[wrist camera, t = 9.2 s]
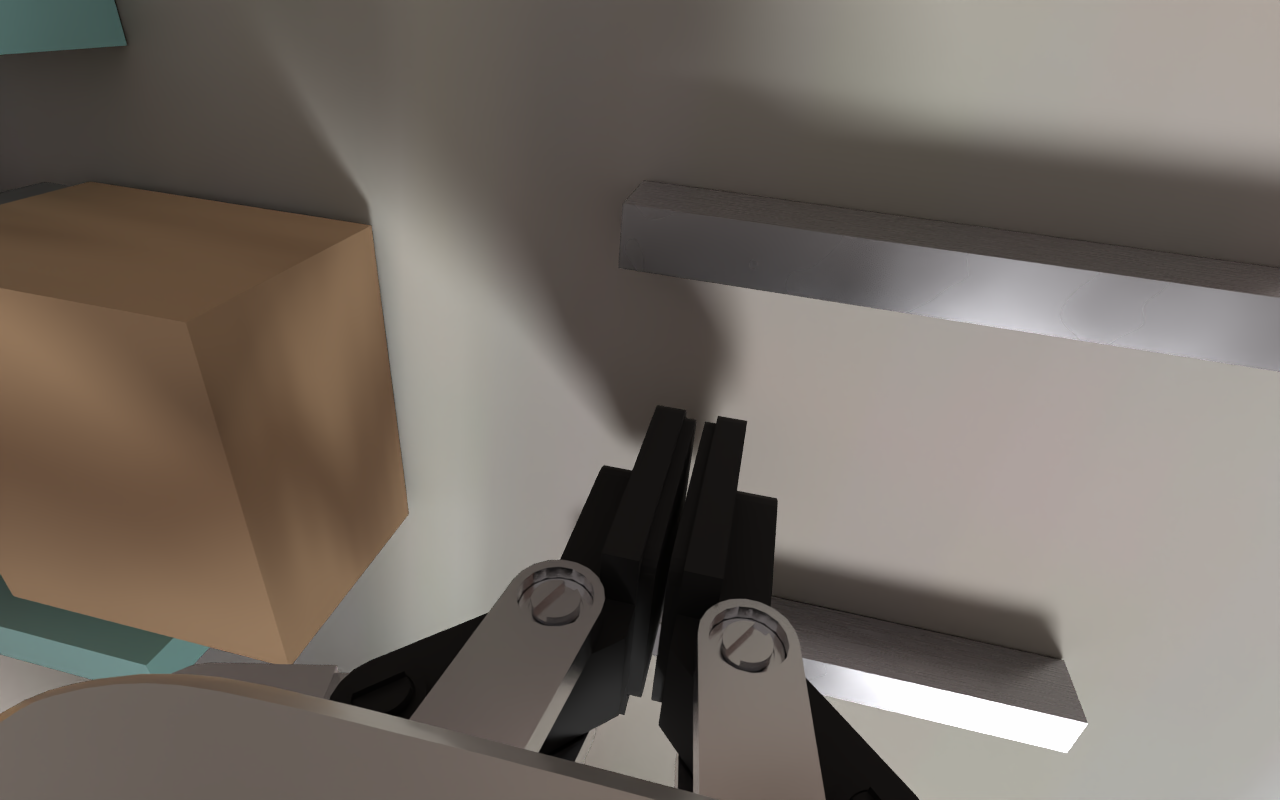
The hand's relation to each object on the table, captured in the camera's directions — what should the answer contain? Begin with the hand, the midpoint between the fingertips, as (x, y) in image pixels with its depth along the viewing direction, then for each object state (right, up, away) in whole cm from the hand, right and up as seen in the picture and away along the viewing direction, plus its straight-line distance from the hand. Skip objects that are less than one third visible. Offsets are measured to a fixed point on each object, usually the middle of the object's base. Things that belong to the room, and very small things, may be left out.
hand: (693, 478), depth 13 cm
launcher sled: (-9, +2, +2) cm, 10 cm away
